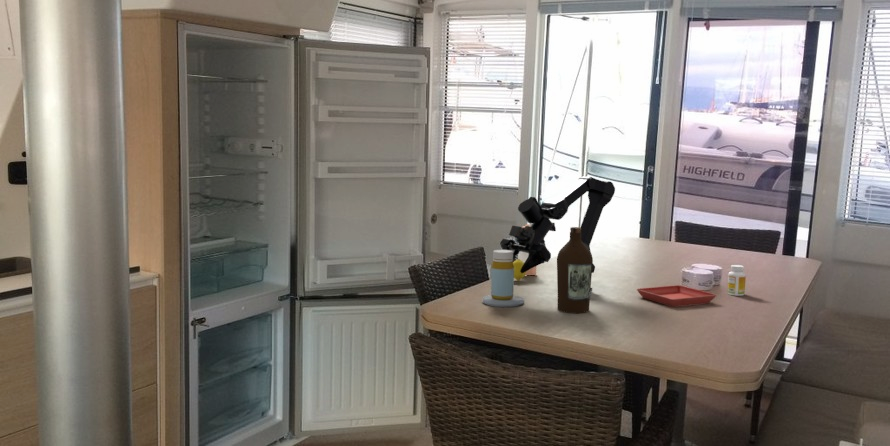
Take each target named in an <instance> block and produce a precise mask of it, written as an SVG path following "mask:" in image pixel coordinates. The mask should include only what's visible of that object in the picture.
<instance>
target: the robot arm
mask: <svg viewBox="0 0 890 446" xmlns="http://www.w3.org/2000/svg"><path fill="white" fill-rule="evenodd" d="M615 192H616V187H615V186H614V183H613V182H612V181H607V180H606V181H605V180H601V179H597V178H594V177H592V176H581V177H579V178H578V180H577V181H576V182H574V183H573V184H572V185H570V186H569V187H567V189H565V190H564V191H563V192H562V193H560V194H559V195H557V196H553V197H550V198H548V199H547V200H544V201H543V202H542V203H541V204H540V203H539V202H538V200H537V198H536V197H535V196H530V197H529V198H528V199H525V200H523V201H522V202H521V203H519V205H518V206H517V210H518V212H519V213H520V215H521V216H522V217H523V218H524V220H525V221H526V222H527V224H531V225H530V226H525V228H524V227H523V226H517V225H511V228H510V231H509V233H508V236H510V237H513V238H515V241H516V242H517V243H516V242H515V241H514V239H512V238H507V237H505V238H502V240H501V241H500V242H499V245H500V247H501V248H502V250H511V251H513V258H512V259H513V261H515V259H516V258H517V256H518V254H519V252H520V251H521V252H526V253H529V256H528V258H527V260H526V261H525V263H524V264H523V266H522V268H521V270H520V272H521V273H524V272H526V271H528V270H529V269H531V268H533V267H535V266H536V267H537V266H539V265H541V264H545V263H548V262H549V261H550V260H551V259H552V254H551V252H550V251H549V249H548V248H547V247H546V245H545V242H546V241H545V240H544V239H545V237H546V236H547V234H548V232H556V231H557V228H556V224H555V222H552V221H551V220H554V221H555V220H557V221H558V220H559V221H560V220H561V219H563V218H564V216H565V215H566V214H567V213H568V210H569V207H570V206H571V205H572V204H574V203H575V202H576V201H577V200H579V199H580V198H581V197H582V196H584V195H585V194H586V193H588V194H587V197H588V206H587V208H586V212H585V214H584V216H583V219H582V222H581V225H580V228H581V241H582V242H583V243H584V245H585V246H586V247H587V248H588V249H589V250H590V252H591V248H590V246H591V242H592V240H593V238H594V234H595V232H596V228H597V226H598V223H599V220H600V218H601V214H602V213H603V210H604V208H605V206H606V205H608V204H609V203H610V202H611V201H612V198H613V197H614V195H615ZM591 253H592V252H591ZM595 270H596V266H595V264H594V263H593V265H592V274H593V273H594V272H595ZM591 290H593V287H591V288H590V291H591Z"/></svg>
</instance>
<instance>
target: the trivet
mask: <svg viewBox="0 0 890 446" xmlns="http://www.w3.org/2000/svg"><path fill="white" fill-rule="evenodd" d="M482 303H483V304H484V305H486V304H487V306H491V307H496V308H497V307H498V308H512V307H513V308H514V307H520V306H522V305H525V298H524V297H523V296H519V295H515V294H513V298H512V299H510V300H496V299H493V298H492V297H491V294H489V295H485V296H483V297H482Z"/></svg>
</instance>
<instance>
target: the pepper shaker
mask: <svg viewBox="0 0 890 446" xmlns="http://www.w3.org/2000/svg"><path fill="white" fill-rule="evenodd" d="M525 226H531V225H530V223H527V224H525ZM525 226H524V225H523V226H522V227H524V228H525ZM528 256H529V253H526V252H521V251H520V252H519V254H518V255H517V259H520V260H521V261H523V262H524V263H525V261H526V260H527V258H528ZM525 275H535V276H536V275H537V266H535V267H533V268H531V269H529V270H528V271H526V274H525Z"/></svg>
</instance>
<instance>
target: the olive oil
mask: <svg viewBox="0 0 890 446" xmlns="http://www.w3.org/2000/svg"><path fill="white" fill-rule="evenodd" d="M580 227H581V226H580ZM580 227H579V226H578V227H577V226H571V227H570V229H569V230H570V231H569V240H568V241H567V242H566V243H565V244H564V245H563V246H562V248H561V249H560V250H559V251H558V254H557V258H556V275H557V276H556V278H557V279H556V280H557V281H556V282H557V286H556V287H557V310H558V311H560V312H563V313H568V314H569V313H570V314H583V313H584V314H585V313H588V312H589V311H590V303H591V302H590V299H591V290H590V288H592V286H591V285H592V276H593V275H592V274H593V273H592V265H593V264H594V263H593V262H594V260H593V259H594V257H593V253H592V252H590V251H591V249H590V250H589V249H588V248H587V247H586V246H585V245H584V243H583V242H582V241H581V228H580Z"/></svg>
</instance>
